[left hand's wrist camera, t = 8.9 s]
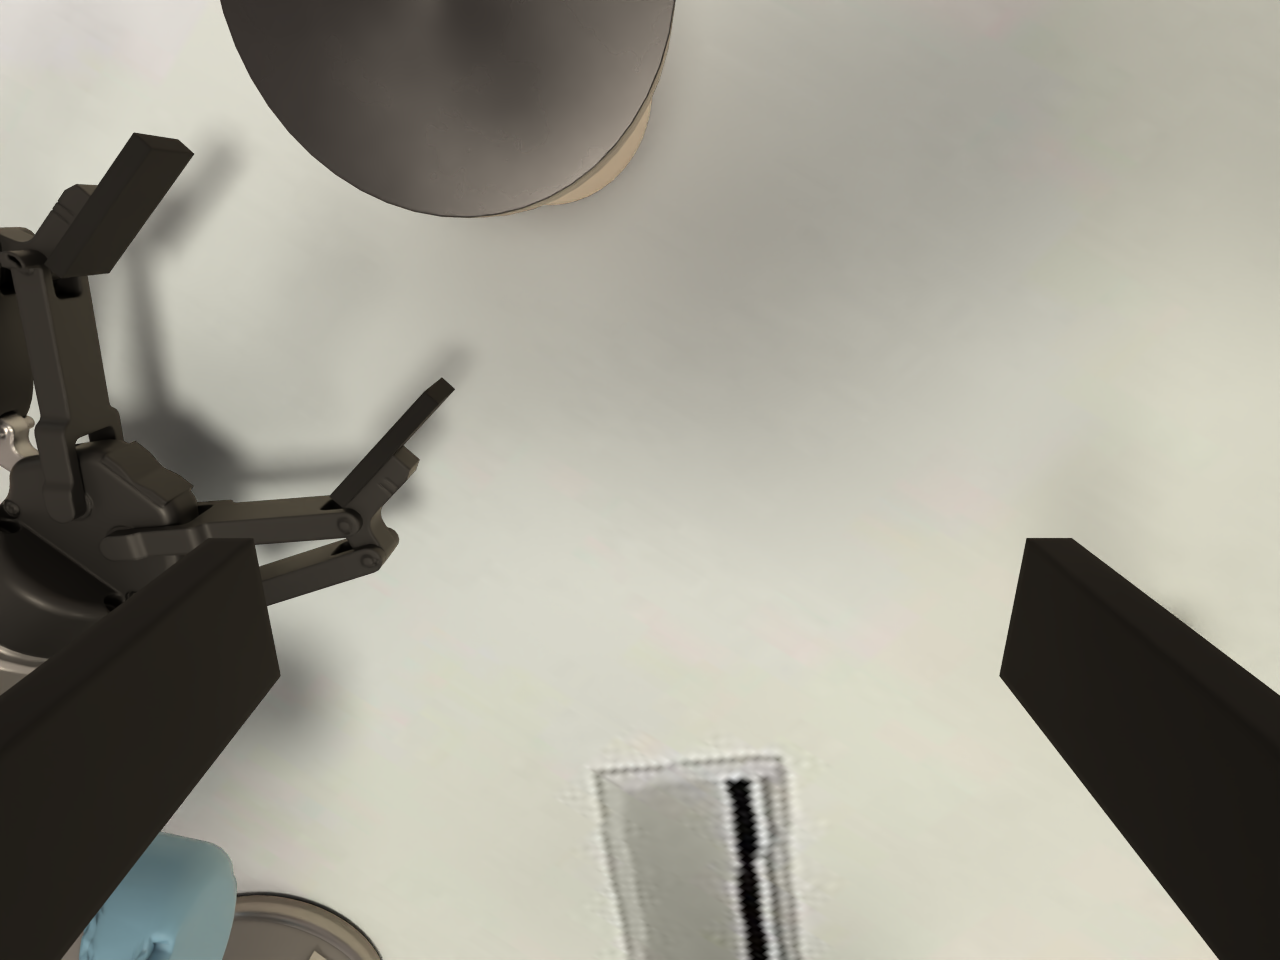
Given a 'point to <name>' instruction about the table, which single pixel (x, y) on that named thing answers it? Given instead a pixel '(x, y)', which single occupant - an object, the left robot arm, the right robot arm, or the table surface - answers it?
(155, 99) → the table surface
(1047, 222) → the table surface
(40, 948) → the left robot arm
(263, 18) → the lid
